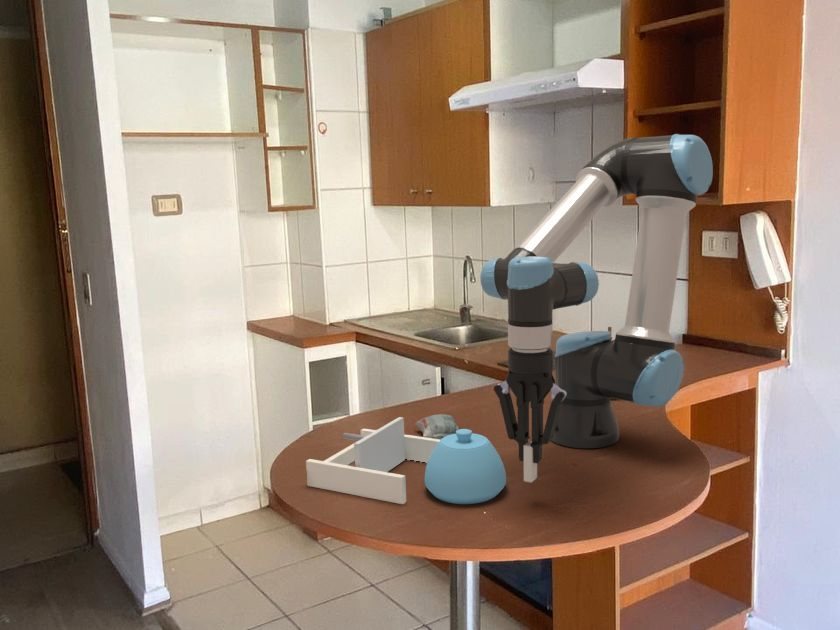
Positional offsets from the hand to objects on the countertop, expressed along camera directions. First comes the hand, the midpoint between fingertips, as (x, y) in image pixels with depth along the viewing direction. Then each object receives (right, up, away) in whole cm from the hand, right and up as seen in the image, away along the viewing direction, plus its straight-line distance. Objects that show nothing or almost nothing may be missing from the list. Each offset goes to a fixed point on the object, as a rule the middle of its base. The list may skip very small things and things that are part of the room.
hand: (530, 479), depth 136 cm
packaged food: (-16, +1, +36) cm, 39 cm away
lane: (-27, -3, +16) cm, 31 cm away
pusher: (-30, -2, +18) cm, 35 cm away
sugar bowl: (-11, -4, +7) cm, 14 cm away
